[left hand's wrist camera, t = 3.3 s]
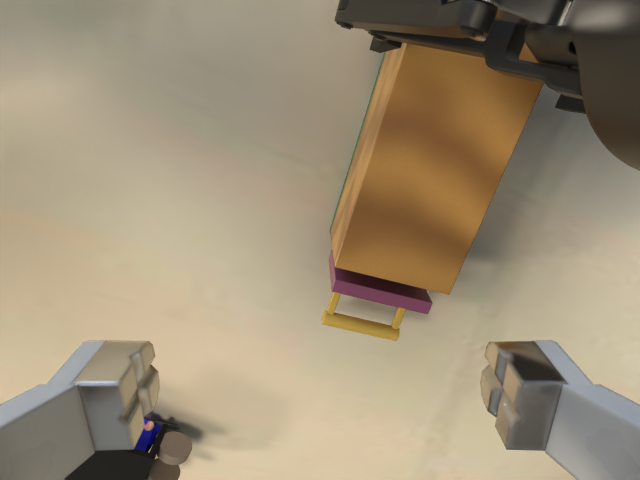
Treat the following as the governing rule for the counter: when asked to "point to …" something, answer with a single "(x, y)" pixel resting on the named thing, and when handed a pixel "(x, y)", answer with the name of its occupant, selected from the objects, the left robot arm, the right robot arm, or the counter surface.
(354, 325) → the drawer
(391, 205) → the wooden box
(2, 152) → the counter surface
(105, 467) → the figurine character
